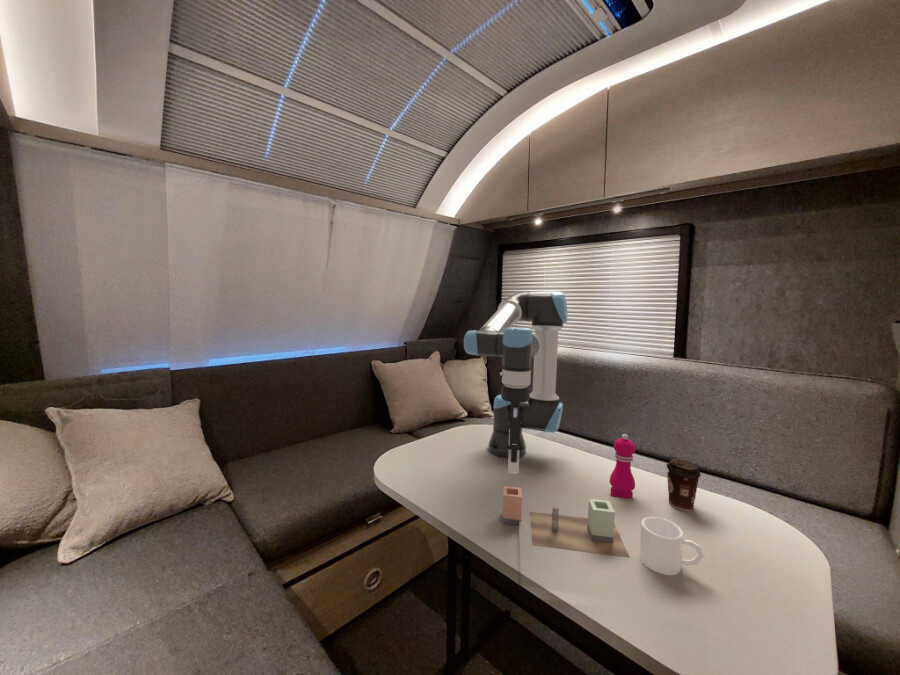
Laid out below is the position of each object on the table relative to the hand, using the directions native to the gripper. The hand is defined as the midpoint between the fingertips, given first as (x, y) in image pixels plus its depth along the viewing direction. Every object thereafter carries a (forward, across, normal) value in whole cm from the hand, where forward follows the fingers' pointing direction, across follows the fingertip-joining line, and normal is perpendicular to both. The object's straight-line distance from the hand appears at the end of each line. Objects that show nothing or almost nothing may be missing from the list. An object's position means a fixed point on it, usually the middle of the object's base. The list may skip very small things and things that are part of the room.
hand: (513, 461), depth 96 cm
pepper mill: (+17, -19, +34) cm, 43 cm away
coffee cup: (+17, -17, +50) cm, 56 cm away
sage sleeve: (+15, +5, +22) cm, 27 cm away
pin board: (+17, +5, +16) cm, 24 cm away
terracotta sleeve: (+17, 0, 0) cm, 17 cm away
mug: (+17, +13, +35) cm, 41 cm away
